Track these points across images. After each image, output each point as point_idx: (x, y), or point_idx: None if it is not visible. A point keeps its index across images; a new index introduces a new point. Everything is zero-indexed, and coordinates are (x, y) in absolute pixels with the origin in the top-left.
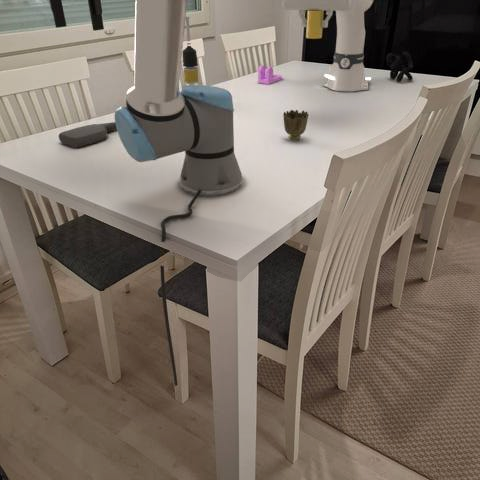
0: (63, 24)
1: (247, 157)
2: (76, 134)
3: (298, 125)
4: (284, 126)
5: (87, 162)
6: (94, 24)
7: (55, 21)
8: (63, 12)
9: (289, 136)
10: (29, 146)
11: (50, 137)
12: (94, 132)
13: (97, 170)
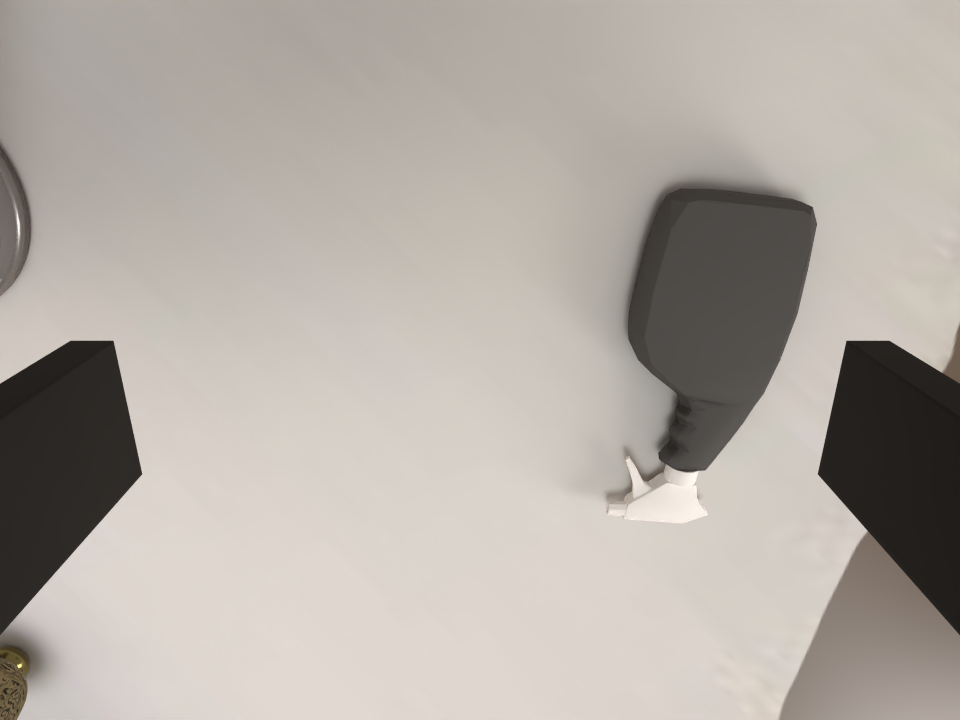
0: (839, 448)
1: None
2: (717, 244)
3: None
4: (3, 679)
5: (495, 97)
6: (25, 373)
7: (914, 369)
8: (918, 581)
9: (12, 656)
10: (912, 92)
11: (902, 232)
12: (660, 310)
13: (383, 52)
